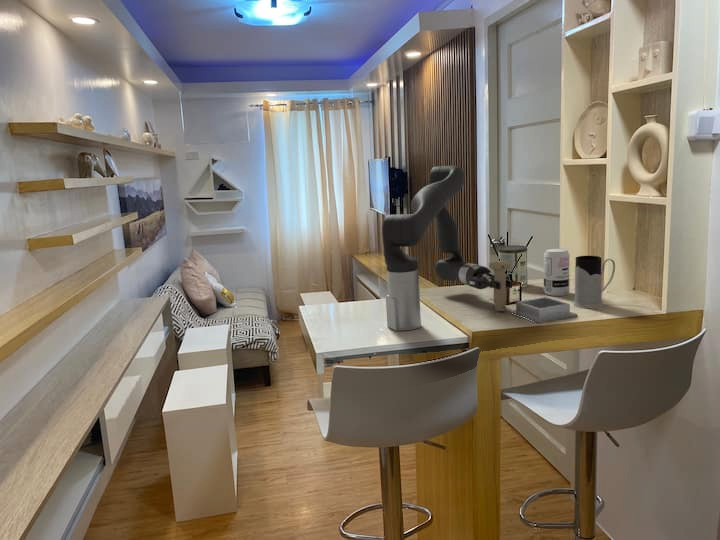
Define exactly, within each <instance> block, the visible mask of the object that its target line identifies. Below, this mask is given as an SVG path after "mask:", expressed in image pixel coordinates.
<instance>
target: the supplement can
mask: <svg viewBox="0 0 720 540" xmlns="http://www.w3.org/2000/svg"><path fill="white" fill-rule="evenodd" d="M570 265H571V264H570V253H569V251H568V249H566V248H548V249H545V252H544V253H543V292H544V293H545V295H547V296H550V297H563V296H566V295H568V294H569V293H570Z"/></svg>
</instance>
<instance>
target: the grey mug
mask: <svg viewBox="0 0 720 540" xmlns="http://www.w3.org/2000/svg"><path fill="white" fill-rule="evenodd" d="M608 261H610V262H612V271H611V276H610V278H609V280H608V281H607V283H606V284H605V285H604V286H603V285H602V284H603V282H602V281H603V273H605V265H606V263H607V262H608ZM615 271H616V263H615V260H613V258H612V259H611V258H606V259H605V260H604V261H603V262H602V257H601V256H598V255H580V256H576V257H575V266H574V302H573V304H572V305H573V306H574V307H576V308H581V309H599V308H602V307H604V304H603V302H602V294H603V292H604V290H606V289H607V287H608V286H609V285H610V284H611V282H612V280H613V278H614V276H615Z"/></svg>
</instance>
